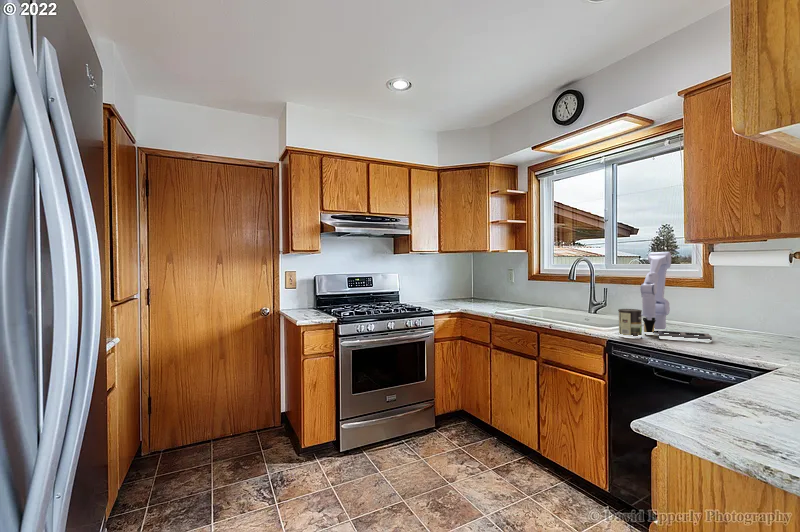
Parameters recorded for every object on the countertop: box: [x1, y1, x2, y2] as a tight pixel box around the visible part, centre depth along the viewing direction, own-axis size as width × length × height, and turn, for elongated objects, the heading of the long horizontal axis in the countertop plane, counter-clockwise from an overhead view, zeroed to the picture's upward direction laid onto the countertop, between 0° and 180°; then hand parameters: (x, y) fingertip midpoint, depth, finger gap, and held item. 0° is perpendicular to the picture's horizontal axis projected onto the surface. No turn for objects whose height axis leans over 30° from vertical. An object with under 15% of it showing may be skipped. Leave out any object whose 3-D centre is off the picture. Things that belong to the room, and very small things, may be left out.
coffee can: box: [618, 308, 643, 336], centre depth 196 cm, size 10×10×14 cm
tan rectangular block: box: [643, 322, 654, 333], centre depth 202 cm, size 4×4×6 cm
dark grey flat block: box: [657, 330, 713, 341], centre depth 189 cm, size 10×20×3 cm, turn 59°
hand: (649, 332), depth 202 cm, fingers open, 5 cm apart
